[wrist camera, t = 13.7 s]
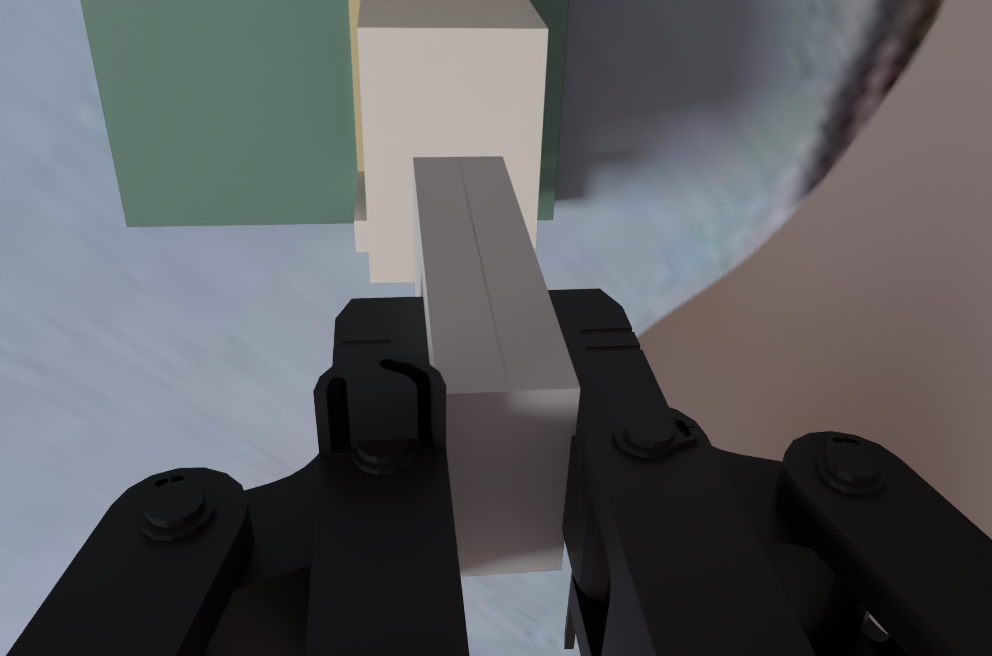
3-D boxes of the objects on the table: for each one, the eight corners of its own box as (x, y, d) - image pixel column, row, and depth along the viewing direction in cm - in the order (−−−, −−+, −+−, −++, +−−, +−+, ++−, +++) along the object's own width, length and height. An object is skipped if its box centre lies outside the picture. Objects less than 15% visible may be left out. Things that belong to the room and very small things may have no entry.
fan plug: (364, -38, 25) (357, 27, 18) (504, -36, 25) (548, 28, 19) (373, 163, 28) (369, 282, 21) (498, 162, 28) (533, 279, 22)
